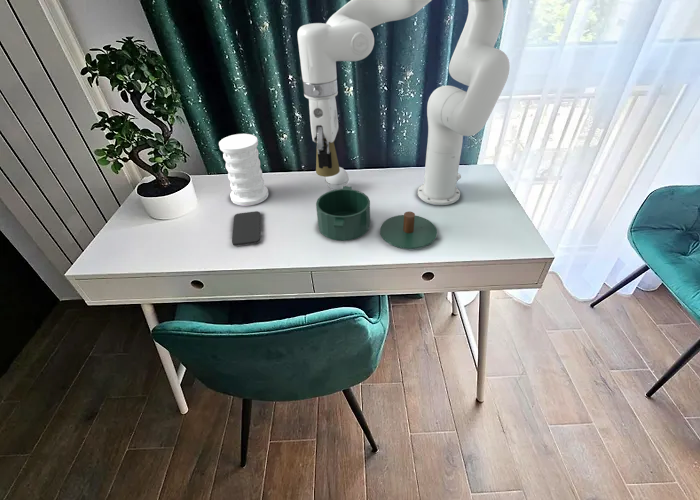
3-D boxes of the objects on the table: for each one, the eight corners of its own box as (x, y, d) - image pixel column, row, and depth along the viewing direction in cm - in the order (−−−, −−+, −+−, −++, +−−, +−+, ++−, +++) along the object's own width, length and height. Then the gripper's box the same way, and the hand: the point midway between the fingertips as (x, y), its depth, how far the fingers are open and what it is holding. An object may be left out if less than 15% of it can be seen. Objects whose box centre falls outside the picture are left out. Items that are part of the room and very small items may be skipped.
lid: (435, 218, 112) (437, 200, 109) (438, 252, 101) (440, 232, 97) (381, 216, 114) (381, 198, 110) (378, 249, 102) (378, 230, 98)
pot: (372, 207, 118) (372, 184, 113) (366, 248, 103) (366, 224, 98) (324, 205, 120) (322, 183, 115) (312, 245, 104) (309, 222, 100)
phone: (260, 210, 117) (260, 240, 105) (260, 213, 117) (260, 243, 106) (234, 213, 116) (231, 244, 104) (234, 216, 117) (232, 246, 105)
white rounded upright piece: (324, 184, 130) (323, 163, 125) (347, 182, 130) (346, 161, 126) (327, 200, 122) (325, 178, 117) (351, 198, 123) (350, 176, 118)
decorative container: (223, 199, 124) (208, 144, 113) (249, 183, 132) (238, 130, 121) (250, 209, 119) (237, 153, 108) (276, 192, 127) (267, 138, 116)
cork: (336, 177, 99) (333, 134, 92) (313, 175, 100) (308, 133, 93) (342, 166, 103) (339, 124, 96) (319, 164, 104) (315, 123, 98)
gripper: (331, 100, 82) (337, 180, 93) (342, 76, 95) (346, 149, 106) (295, 100, 83) (305, 179, 94) (311, 77, 96) (318, 148, 107)
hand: (327, 162), depth 100 cm, fingers closed on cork, 4 cm apart
